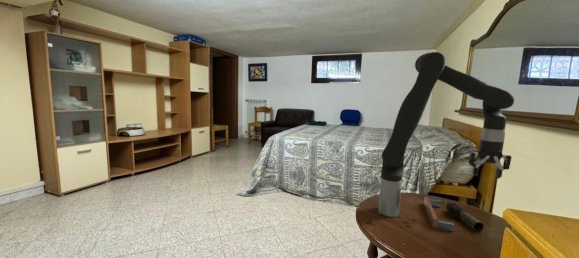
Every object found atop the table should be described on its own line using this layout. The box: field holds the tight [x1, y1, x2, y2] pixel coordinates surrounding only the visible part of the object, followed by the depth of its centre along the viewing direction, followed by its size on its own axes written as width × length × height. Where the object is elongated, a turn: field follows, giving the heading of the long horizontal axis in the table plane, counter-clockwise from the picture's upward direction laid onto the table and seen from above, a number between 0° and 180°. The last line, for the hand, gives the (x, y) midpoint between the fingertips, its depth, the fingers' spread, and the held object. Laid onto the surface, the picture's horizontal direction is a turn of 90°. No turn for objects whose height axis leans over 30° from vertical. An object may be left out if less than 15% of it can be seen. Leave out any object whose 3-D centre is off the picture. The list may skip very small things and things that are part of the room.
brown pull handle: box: [423, 196, 455, 232], centre depth 111 cm, size 8×24×4 cm, turn 159°
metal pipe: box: [446, 202, 485, 232], centre depth 107 cm, size 18×7×6 cm, turn 3°
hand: (486, 176), depth 102 cm, fingers open, 7 cm apart
